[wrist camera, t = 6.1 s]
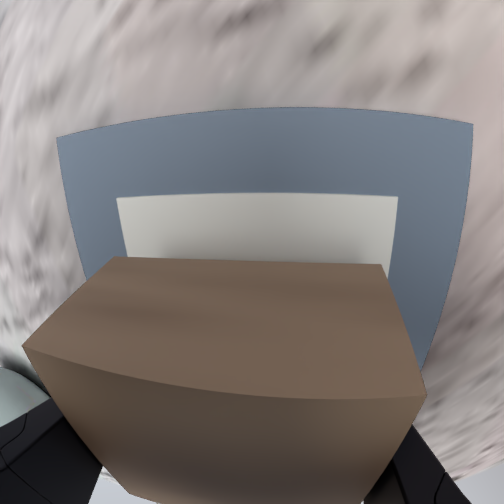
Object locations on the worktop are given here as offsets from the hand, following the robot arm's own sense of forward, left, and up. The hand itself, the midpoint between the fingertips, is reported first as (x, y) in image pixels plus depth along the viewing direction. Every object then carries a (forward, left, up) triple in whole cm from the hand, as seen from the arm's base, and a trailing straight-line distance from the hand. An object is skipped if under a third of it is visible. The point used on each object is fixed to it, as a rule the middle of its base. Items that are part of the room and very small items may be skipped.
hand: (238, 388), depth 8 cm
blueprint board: (0, 0, -4) cm, 4 cm away
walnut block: (0, 0, -1) cm, 1 cm away
